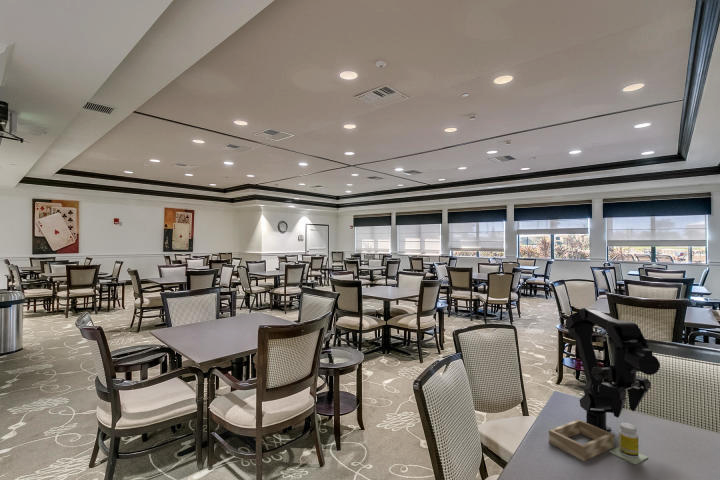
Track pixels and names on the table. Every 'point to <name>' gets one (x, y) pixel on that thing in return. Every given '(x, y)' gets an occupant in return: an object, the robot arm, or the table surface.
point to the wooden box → (583, 452)
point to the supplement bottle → (628, 440)
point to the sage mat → (632, 460)
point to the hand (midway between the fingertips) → (624, 413)
